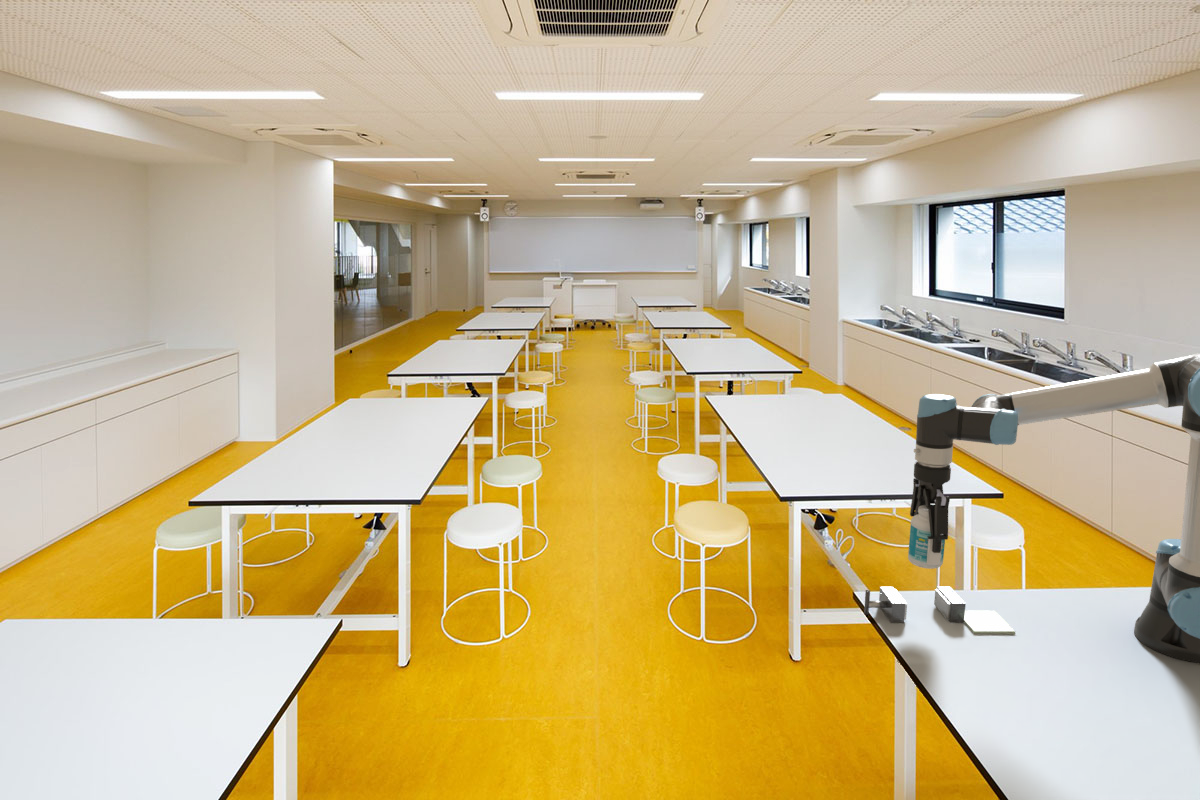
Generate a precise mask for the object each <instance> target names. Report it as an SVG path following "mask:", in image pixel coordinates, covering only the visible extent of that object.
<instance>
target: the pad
mask: <svg viewBox="0 0 1200 800" xmlns="http://www.w3.org/2000/svg"><path fill="white" fill-rule="evenodd" d="M963 624H965V625H966V626H967V628H968V629H969V630H970V631H971V632H972V634H974V635H975V634H977V635H978V634H980V635H981V634H982V635H983V634H985V635H987V634H988V635H989V634H991V635H992V634H994V635H995V634H996V635H1002V634H1003V635H1007V634H1009V635H1011V634H1012V635H1014V634H1016V630H1014V628H1013V627H1011V626H1010V624H1009V623H1008V622H1006V620H1005V619H1004V618H1003V617H1002V616H1001V615H999V613H998V612H996V610H965V615H964V623H963Z"/></svg>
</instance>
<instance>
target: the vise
mask: <svg viewBox="0 0 1200 800" xmlns="http://www.w3.org/2000/svg"><path fill="white" fill-rule="evenodd" d="M934 590H935V591H934V592H935V593H934V602H933V603H934V604H933V605H934V606H935V607H936V608H937V609H938V611H940V613H941V614H942V615H943V616H944V618H945V619H946V620H948V622H949V623H951V624H965V623H964V615H965V611H966V602H965V601H964V600H963V599H962V598H961V597H960V595H958V594H957V592H956V591H954V589H953V588H952V587H951V586H937V587H936V589H934ZM952 591H953V592H952ZM864 592H865V594H864V596H865V597H864V610H863V611H864V612H863V615H865V616H868V615H869V612H870V609H871V608H872V609H881V611H882V612H883V614H884V615H885V616H886V618H887V620H888V621H889V622H890V624H893V623H894V624H899V623H900V624H904V623H905V620H907V612H908V611H907V609H908V603H907V602H906V600H905V599H904V598H903V597H902V595H901V594H900V593H899V592H898V590H897V589H896V588H894V586H879V598H878V600H870V599H871V590H870V589H865V591H864ZM880 593H882V594H880Z"/></svg>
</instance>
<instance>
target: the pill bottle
mask: <svg viewBox="0 0 1200 800" xmlns="http://www.w3.org/2000/svg"><path fill="white" fill-rule="evenodd" d="M918 513H919V514H917V515H915V516H912V518H911V520H910V529H909V540H908V541H909V543H908V552H907V553H908V554H907V559H908V561H909V562H910V563H911V564H912V565H913V566H914V565H915V566H917V567H918V568H922V569H931V570H932V569H938V568H941V566H943V563H944V556H945V546H946V545H945V544H946V540H942V548H941V560H940V565H928V564H927V551H928V537H927V536H931V533H930V522H929V511H928V508H926V505H921V506H919V508H918Z"/></svg>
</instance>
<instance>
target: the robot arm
mask: <svg viewBox="0 0 1200 800" xmlns="http://www.w3.org/2000/svg"><path fill="white" fill-rule="evenodd" d="M1155 405H1158V406H1161V407H1163V408H1166V409H1167V408H1168V409H1169V408H1175V407H1182V416H1181V426H1180V427H1181V429H1183V430H1184V431H1185V432H1186V433H1187V434H1188V435H1189V436H1190V443H1189V454H1188V464H1187V473H1186V474H1187V475H1186V484H1185V485H1186V486H1185V494H1184V496H1185V497H1184V503H1183V505H1184V506H1183V514H1182V515H1183V516H1182V524H1181V525H1182V527H1181V537H1180V538H1167V539H1163V540H1161V541H1159V542H1158V546H1157V550H1156V551H1155V554H1156V557H1155V564H1154V568H1153V569H1154V570H1153V575H1152V580H1151V581H1152V582H1151V588H1150V595H1149V600H1148V603H1147V604H1146V606H1145V608H1144V609H1143V611H1142V613H1140V614H1141V615H1140V616H1139V617H1138V618H1137V619H1136V620H1135V623H1134V629H1133V634H1134V636H1135V637H1136V639H1138V641H1139V642H1141V643H1142V644H1143V645H1145V646H1147V647H1148V648H1150V649H1152V650H1154V651H1156V652H1159V653H1161V654H1163V655H1166V656H1168V657H1172V658H1174V659H1179V660H1182V661H1188V662H1193V663H1200V352H1199V353H1193V354H1190V355H1185V356H1180V357H1175V358H1172V359H1167V360H1161V361H1156V362H1153V363H1152V364H1151V365H1150V367H1148V368H1145V369H1138V370H1133V371H1132V370H1131V371H1129V372H1128V371H1127V372H1121V373H1116V374H1111V375H1106V376H1098V377H1092V378H1089V379H1082V380H1076V381H1071V382H1064V383H1059V384H1054V385H1050V386H1044V387H1037V388H1031V389H1026V390H1020V391H1015V392H1009V393H1003V394H998V395H997V394H995V393H988V394H983V395H981V396H979V397H978V398H976V399H975V401H974V402H973V403H972V405H971V406H963V405H962V406H961V405H958V403H957V399H956V397H954V396H952V395H948V394H941V393H930V394H925V395H922V397H920V398H919V401H918V408H917V409H918V410H917V411H918V412H917V415H916V419H917V420H916V437H915V448H914V449H913V452H914V453H915V456H914V459H915V462H914V465H913V477H914V478H913V487H912V488H913V490H912V495H911V496H912V497H911V504H910V511H909V516H910V517H913V516H915V515H917V514H919V513H918V508H919V506H921V505H926V508H928V511H929V522H930V533H931V536H927V537H928V551H927V564H928V565H940V560H941V548H942V540H945V541H946V540H948V539H949V504H950V501H951V500H950V496H949V495H947V496H946V495H944V488H943V487H944V486H943V485H944V484H946V483H948V482H950V480H951V476H952V474H951V472H952V471H951V470H952V465H951V464H952V461H953V449H954V440H957V441H964V442H971V443H974V442H975V443H982V444H991V445H995V446H999V445H1002V446H1003V445H1005V446H1007V445H1008V446H1009V445H1010V446H1012V445H1014V444H1016V441H1017V436H1018V427H1019V426H1021V425H1028V424H1034V423H1040V422H1041V423H1042V422H1047V421H1054V420H1061V419H1066V418H1067V419H1069V418H1075V417H1081V416H1087V415H1094V414H1100V413H1107V412H1114V411H1120V410H1128V409H1135V408H1142V407H1147V406H1155Z"/></svg>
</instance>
